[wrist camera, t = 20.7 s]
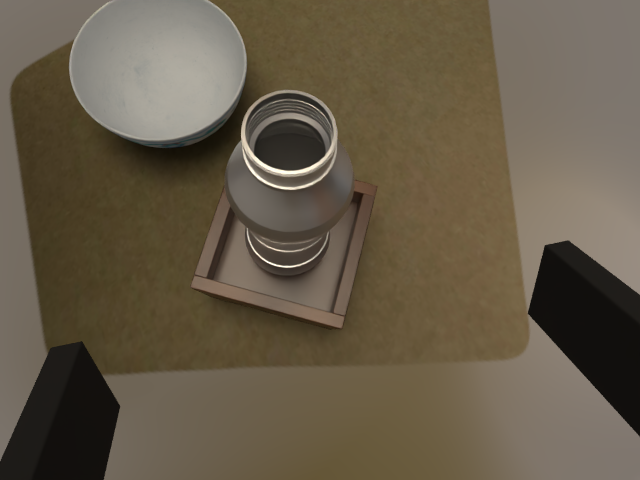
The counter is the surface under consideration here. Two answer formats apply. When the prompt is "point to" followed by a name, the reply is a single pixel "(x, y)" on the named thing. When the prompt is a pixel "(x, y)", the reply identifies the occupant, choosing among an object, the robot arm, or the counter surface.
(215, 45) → the chinaware
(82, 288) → the counter surface
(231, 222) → the walnut box
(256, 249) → the metal bottle
